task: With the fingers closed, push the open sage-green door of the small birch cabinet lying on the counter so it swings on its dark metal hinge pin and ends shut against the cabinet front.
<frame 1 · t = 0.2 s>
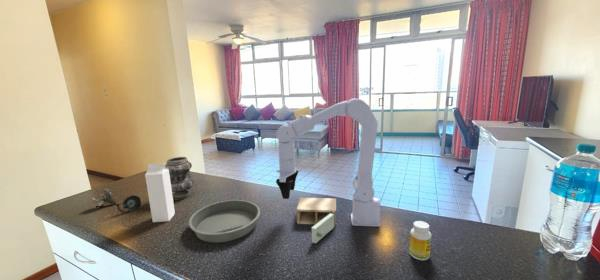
hand: (288, 193, 92), 10 cm above the countertop, fingers open, 7 cm apart
supplement bottle: (419, 255, 72), on the countertop
cake pan: (226, 226, 91), on the countertop
carved stone vase: (181, 195, 119), on the countertop
milk: (164, 218, 98), on the countertop
door: (325, 227, 82), point 3 cm above the countertop, hinge at 60.0°
cabinet: (317, 217, 95), on the countertop
artificial flower: (115, 208, 109), on the countertop
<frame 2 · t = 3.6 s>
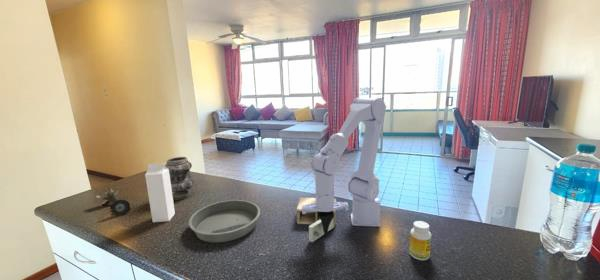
hand: (325, 231, 80), 3 cm above the countertop, fingers closed
door: (324, 226, 83), point 3 cm above the countertop, hinge at 54.3°, touching gripper
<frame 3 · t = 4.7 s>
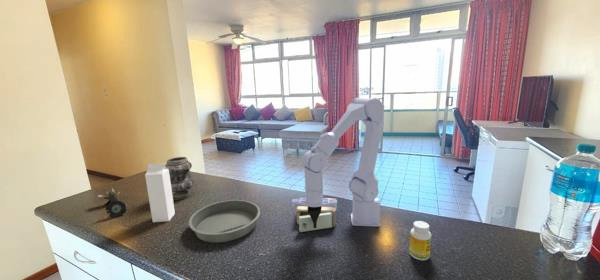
hand: (314, 226, 83), 3 cm above the countertop, fingers closed, pressing on door
door: (317, 222, 85), point 3 cm above the countertop, hinge at 20.0°, touching gripper
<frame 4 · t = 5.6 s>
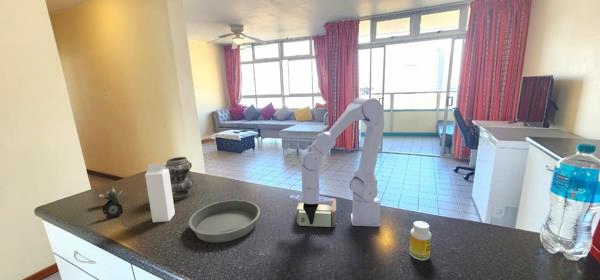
hand: (311, 223, 86), 3 cm above the countertop, fingers closed, pressing on door
door: (316, 219, 87), point 3 cm above the countertop, hinge at -0.3°, touching gripper
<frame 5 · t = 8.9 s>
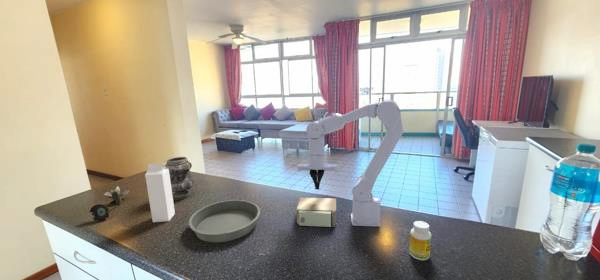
hand: (317, 188, 95), 10 cm above the countertop, fingers closed
door: (316, 219, 87), point 3 cm above the countertop, hinge at -0.4°
at the end: door at +0° (first picture: +60°) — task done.
